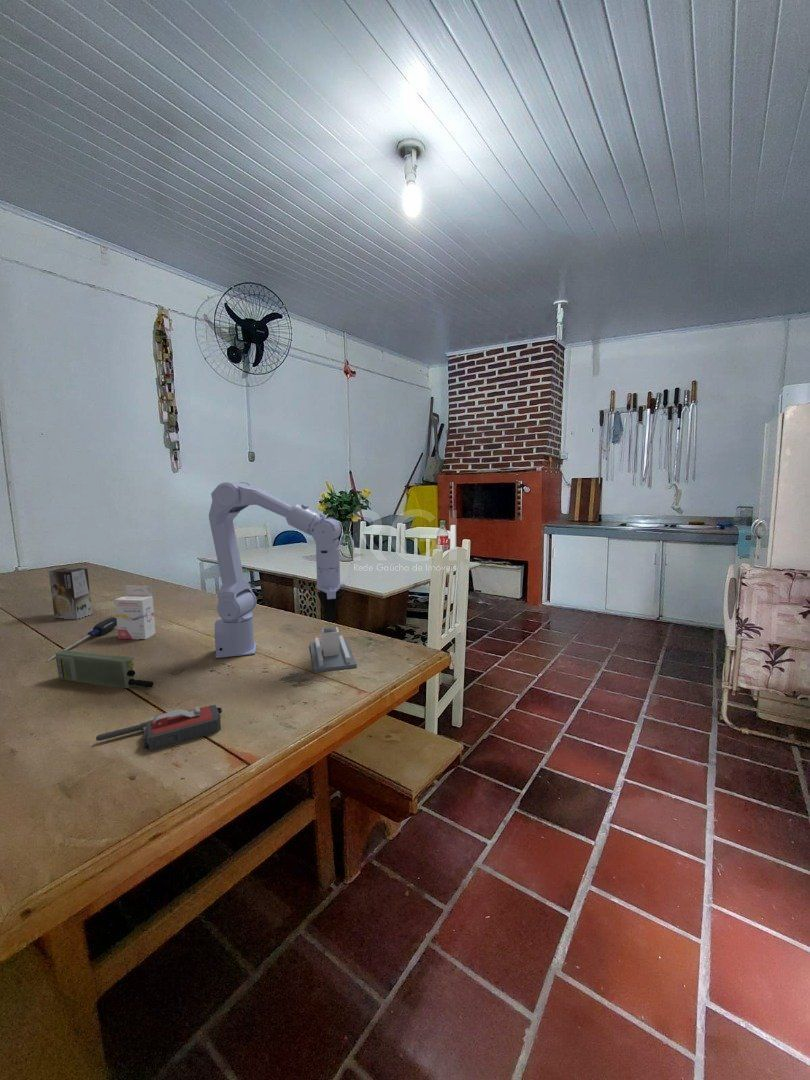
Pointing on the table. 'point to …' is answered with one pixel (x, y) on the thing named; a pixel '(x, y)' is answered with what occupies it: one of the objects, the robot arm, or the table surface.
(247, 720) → the table surface
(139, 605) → the ink cartridge box
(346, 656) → the rail dock
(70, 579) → the coffee box
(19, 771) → the table surface
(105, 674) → the handheld radio
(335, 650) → the block
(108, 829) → the table surface
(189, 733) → the walkie-talkie
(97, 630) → the screwdriver
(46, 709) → the table surface
